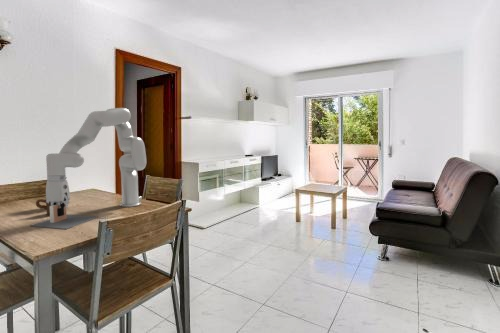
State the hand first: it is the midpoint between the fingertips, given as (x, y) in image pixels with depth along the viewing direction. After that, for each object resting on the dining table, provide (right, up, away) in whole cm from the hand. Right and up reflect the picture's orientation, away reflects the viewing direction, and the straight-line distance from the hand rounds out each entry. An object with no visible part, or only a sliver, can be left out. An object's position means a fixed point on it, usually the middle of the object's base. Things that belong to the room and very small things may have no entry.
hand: (58, 215), depth 141 cm
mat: (+4, -3, 0) cm, 5 cm away
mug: (-13, -2, +12) cm, 18 cm away
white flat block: (0, -3, 0) cm, 3 cm away
